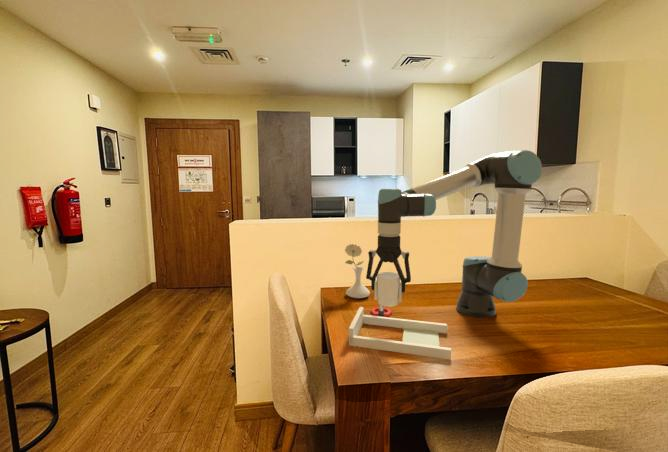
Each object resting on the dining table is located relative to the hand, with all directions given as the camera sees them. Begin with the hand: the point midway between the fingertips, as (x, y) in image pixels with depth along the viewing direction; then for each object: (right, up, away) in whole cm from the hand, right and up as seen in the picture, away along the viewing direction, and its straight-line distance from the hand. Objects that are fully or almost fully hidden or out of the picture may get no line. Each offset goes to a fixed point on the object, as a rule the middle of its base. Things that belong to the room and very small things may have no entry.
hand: (388, 299), depth 110 cm
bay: (+4, -14, +1) cm, 14 cm away
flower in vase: (-8, -8, +42) cm, 44 cm away
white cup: (0, -1, 0) cm, 1 cm away
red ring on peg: (+1, -11, +22) cm, 25 cm away
